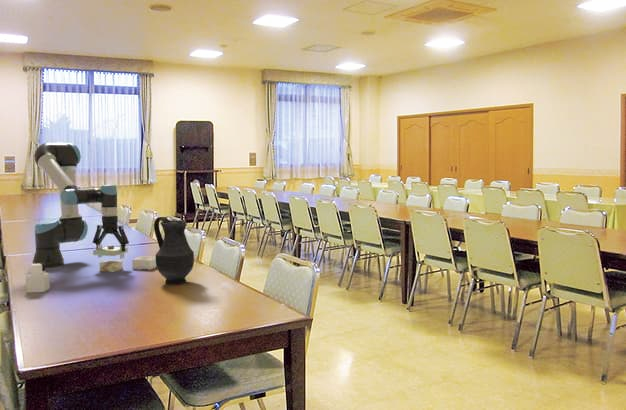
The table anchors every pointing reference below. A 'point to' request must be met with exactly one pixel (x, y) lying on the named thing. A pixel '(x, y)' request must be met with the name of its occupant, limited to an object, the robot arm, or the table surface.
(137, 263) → the dish
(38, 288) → the medicine bottle
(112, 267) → the stand
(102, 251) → the lid
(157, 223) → the pitcher
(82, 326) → the table surface
